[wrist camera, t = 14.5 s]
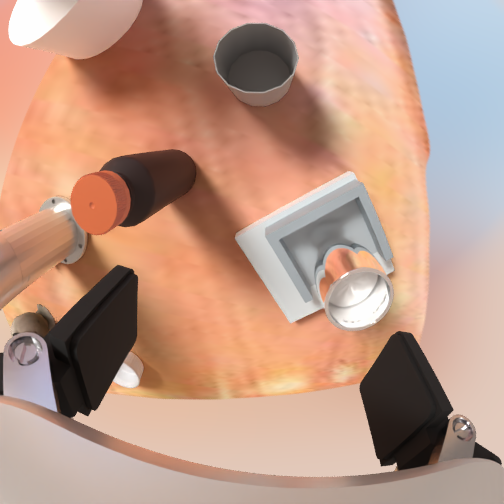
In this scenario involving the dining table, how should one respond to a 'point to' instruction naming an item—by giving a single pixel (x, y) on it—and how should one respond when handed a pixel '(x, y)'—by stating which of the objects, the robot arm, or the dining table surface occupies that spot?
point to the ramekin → (130, 372)
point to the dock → (296, 241)
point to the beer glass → (348, 278)
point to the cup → (256, 62)
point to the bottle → (130, 189)
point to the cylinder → (72, 25)
